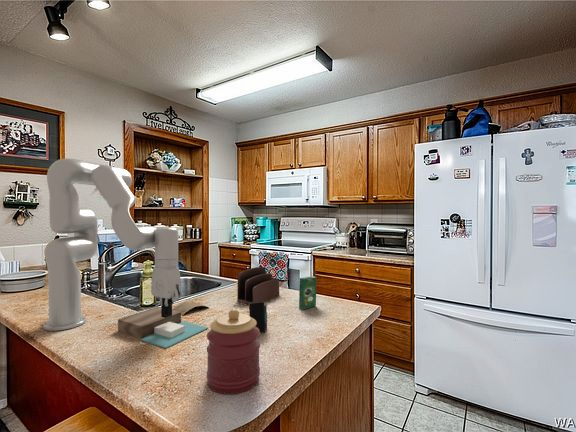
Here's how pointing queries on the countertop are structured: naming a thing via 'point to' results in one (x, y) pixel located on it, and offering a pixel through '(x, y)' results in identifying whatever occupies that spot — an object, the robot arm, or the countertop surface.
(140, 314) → the brown flat block
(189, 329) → the mat
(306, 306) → the coffee box
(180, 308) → the clay tablet
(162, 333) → the tile
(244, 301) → the letter holder
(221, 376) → the canister
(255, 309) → the speaker
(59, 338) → the countertop surface
